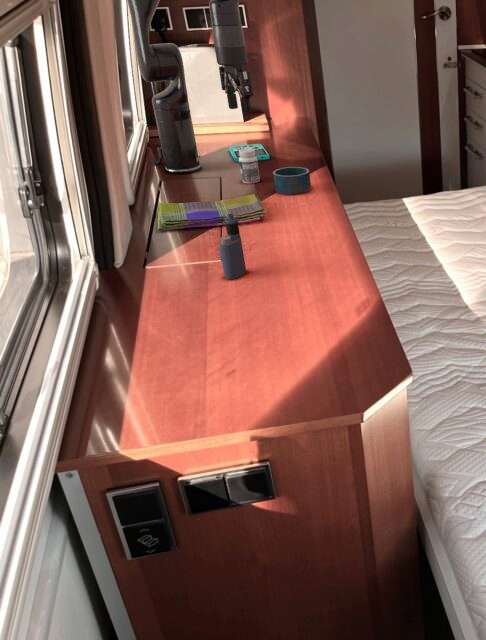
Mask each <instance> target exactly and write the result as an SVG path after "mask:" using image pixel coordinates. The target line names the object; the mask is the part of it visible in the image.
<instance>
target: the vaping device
mask: <svg viewBox="0 0 486 640" xmlns="http://www.w3.org/2000/svg"><path fill="white" fill-rule="evenodd" d="M225 224H226V225H225V229H226V235H223V236H220V237H219V240H220V242H219V247H218V248H219V254H220V259H221V264H222V272H223V275H224V277H225V278H226V279H227V280H236V279H237V278H240V277H241V276H243V275H244V274H246V273H247V266H246V261H245V260H246V259H245V254H244V249H243V243H242V242H243V241H242V237H241V233H240V232H241V231H240V226H239V223H238V220H237V218H234V217H233V214H228V218H227V219H225Z"/></svg>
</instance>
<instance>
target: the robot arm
mask: <svg viewBox="0 0 486 640" xmlns="http://www.w3.org/2000/svg"><path fill="white" fill-rule="evenodd" d="M126 1H127V5H128V9H129V13H130V14H129V15H130V20H131V26H132V33H133V38H134V47H135V53H136V60H137V65H138V69H139V73H140V75H141V77H142V79H143V80H144V81H145V82H147V83H157V82H159V83H160V82H168V81H169V85H168V86H167V87H166V88H165V89H164V90H162V91H161V92H158V93H156V94H154V95H153V96H152V98H151V103H152V108H153V114H154V117H155V123H156V127H157V132H158V137H159V142H160V147H156V150H157V155H158V160H155V159H153V160H152V163H153V164H155V165H161V163H162V160H163V163H164V168H165V172H166V173H170V174H178V175H179V174H180V175H181V174H190V173H194V172H197V171H200V170H201V169H202V166H201V162H200V160H201V155H200V154H199V151H198V146H197V141H196V135H195V129H194V125H193V119H192V114H191V109H190V108H191V107H190V103H189V95H188V89H187V83H186V82H187V81H186V75H185V67H184V60H183V56H182V53H181V50H180V49H179V47H178V45H176V44H175V43H172V42H166V43H152V44H150V31H151V24H152V22H153V18H154V16H155V13H156V10H157V8H158V6H159V4H160V1H161V0H126ZM208 8H209V9H208V10H209V15H210V21H211V29H212V41H213V46H214V52H215V58H216V64H217V65H218V72H219V77H220V86H221V87H220V88H221V90H222V91H224V93H225V94H226V99H227V106H228V109H230V110H235V109H238V108H239V106H238V105H239V104H238V97H237V94H238V96H239V98H240V99H239V101H240V107H241V113H242V114H244V115H249V114H251V113H252V106H251V98H252V97H254V90H253V85H252V79H251V74H250V71H249V70H244V68H243V66H245V65H247V64H248V63H249V58H248V53H247V52H248V51H247V44H246V39H245V32H244V29H243V25H242V18H241V13H240V0H209V2H208ZM236 92H237V93H236Z"/></svg>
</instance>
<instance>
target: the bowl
mask: <svg viewBox="0 0 486 640" xmlns="http://www.w3.org/2000/svg"><path fill="white" fill-rule="evenodd" d="M272 179H273V186H274V191H275V192H277V193H280V194H282V195H287V196H288V195H294V196H295V195H300V194H304V193H306V192H308V191H310V190H311V189H312V182H311V172H310V170H309V169H308V168H306V167H301V166H288V167H287V166H286V167H280V168H278V169H275V170H273V171H272Z"/></svg>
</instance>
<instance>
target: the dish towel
mask: <svg viewBox="0 0 486 640" xmlns="http://www.w3.org/2000/svg"><path fill="white" fill-rule="evenodd" d="M157 207H158V212H157V213H158V214H157V230H158V231H172V230H182V229H190V228H203V227H215V226H216V227H217V226H226V224H225V219H227V218H228V214H233V217H234V218H237V220H238V224H245V223H250V222H255V221H256V222H257V221H262V217H266V215H267V213H268V211H267V210H266V208H265V207H264V205H263V204H262V202H261V199H260V197H259V196H258V194H254V193H253V194H245V195H243V196H238V197H235V198H227V199H226V198H225V199H221V200H211V201H191V202H179V203H175V202H158V203H157Z"/></svg>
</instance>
